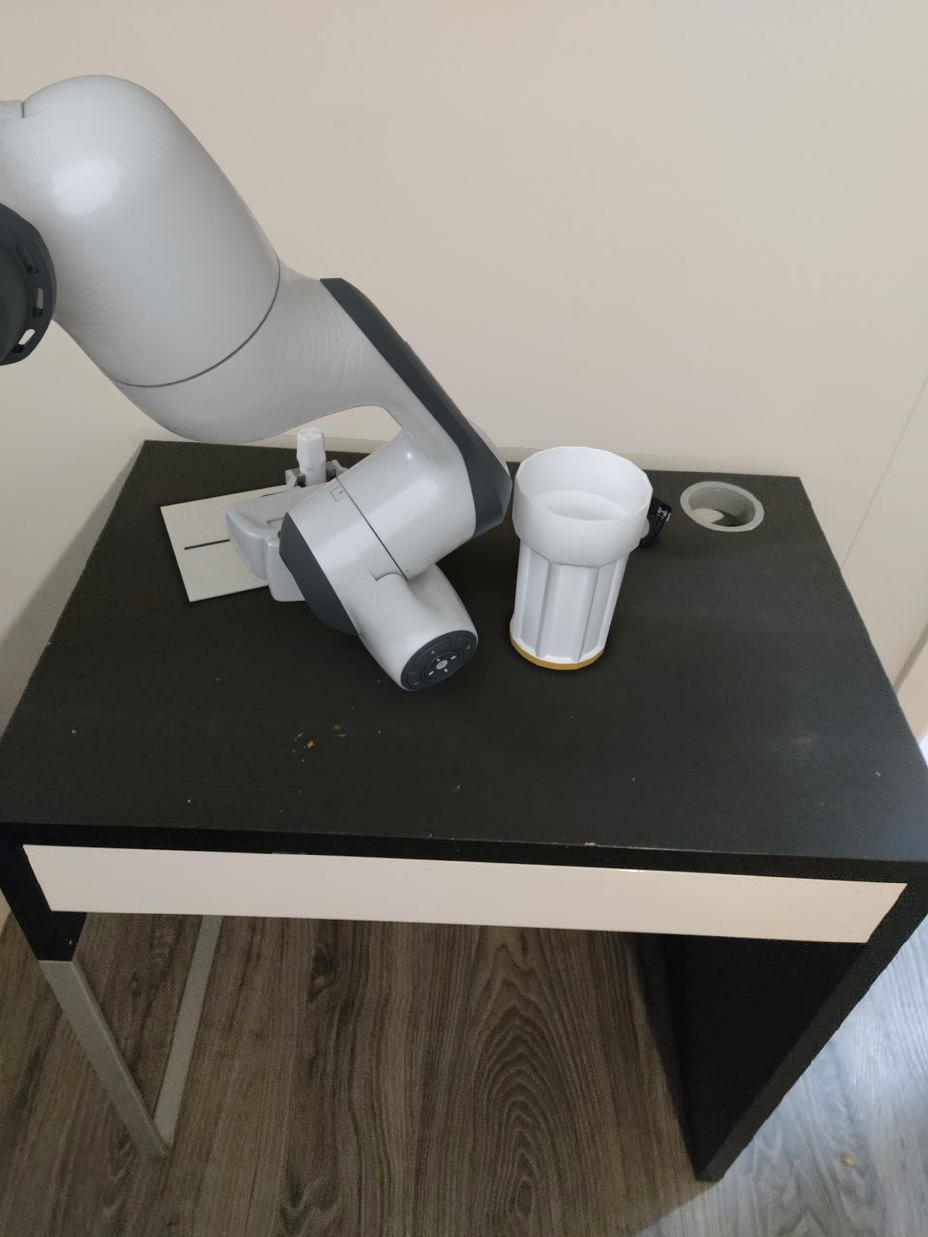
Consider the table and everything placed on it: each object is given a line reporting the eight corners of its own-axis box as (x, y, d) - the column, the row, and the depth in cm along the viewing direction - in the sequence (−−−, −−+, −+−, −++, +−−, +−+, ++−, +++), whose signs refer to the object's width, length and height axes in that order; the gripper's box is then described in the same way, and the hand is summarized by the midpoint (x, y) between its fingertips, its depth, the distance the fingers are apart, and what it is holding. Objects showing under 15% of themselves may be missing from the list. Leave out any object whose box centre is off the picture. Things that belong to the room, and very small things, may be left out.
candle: (352, 523, 97) (349, 421, 89) (326, 551, 93) (320, 448, 85) (307, 509, 98) (300, 408, 90) (280, 536, 95) (270, 433, 87)
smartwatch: (616, 534, 100) (624, 496, 97) (658, 526, 102) (667, 488, 98) (634, 557, 97) (643, 518, 94) (677, 549, 99) (687, 510, 95)
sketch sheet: (190, 602, 88) (189, 599, 88) (160, 508, 99) (160, 506, 98) (389, 559, 95) (389, 557, 94) (341, 476, 105) (341, 473, 105)
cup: (615, 603, 92) (649, 451, 80) (619, 685, 83) (658, 529, 72) (500, 591, 92) (518, 438, 80) (493, 672, 83) (512, 514, 72)
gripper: (469, 495, 85) (406, 423, 94) (250, 549, 77) (205, 464, 86) (465, 550, 89) (405, 476, 98) (257, 606, 81) (213, 520, 90)
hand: (310, 471), depth 92 cm, fingers closed on candle, 2 cm apart
